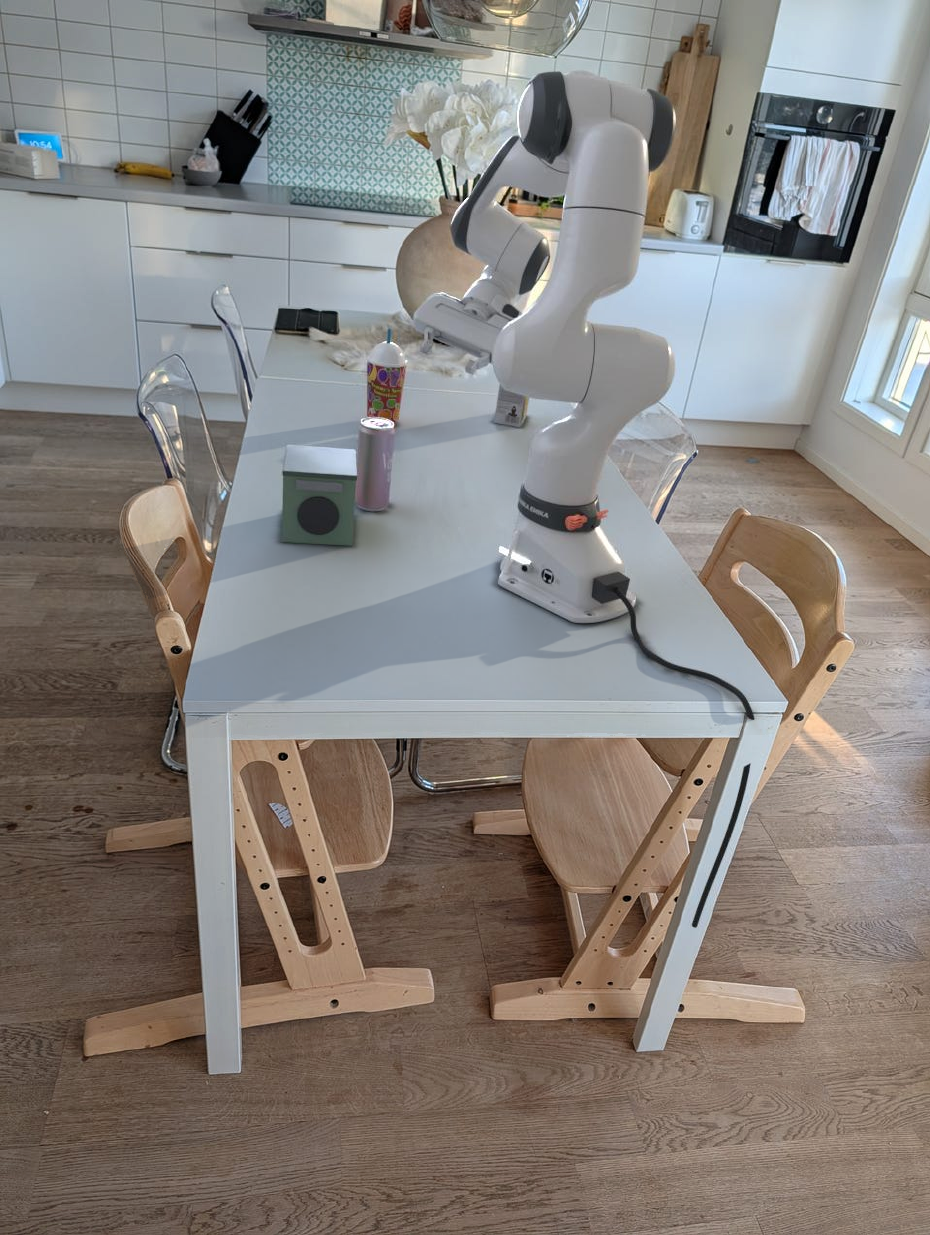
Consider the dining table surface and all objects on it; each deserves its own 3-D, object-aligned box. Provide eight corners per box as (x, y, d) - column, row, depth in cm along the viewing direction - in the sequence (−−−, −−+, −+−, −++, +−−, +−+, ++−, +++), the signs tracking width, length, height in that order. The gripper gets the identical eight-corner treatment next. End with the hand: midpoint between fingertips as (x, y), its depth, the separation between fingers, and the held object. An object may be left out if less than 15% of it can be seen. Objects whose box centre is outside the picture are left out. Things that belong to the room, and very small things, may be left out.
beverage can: (367, 495, 163) (373, 414, 155) (395, 505, 160) (402, 423, 153) (347, 505, 158) (352, 421, 151) (375, 515, 156) (381, 431, 148)
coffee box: (500, 411, 213) (510, 342, 205) (526, 416, 213) (537, 347, 205) (493, 423, 206) (503, 351, 198) (521, 428, 205) (532, 356, 197)
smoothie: (366, 429, 192) (373, 333, 182) (359, 416, 199) (365, 322, 189) (405, 430, 195) (414, 335, 185) (396, 416, 201) (404, 324, 191)
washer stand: (352, 547, 145) (357, 477, 138) (280, 543, 143) (282, 472, 137) (352, 516, 154) (356, 449, 148) (284, 512, 153) (286, 444, 147)
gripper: (434, 277, 169) (395, 326, 164) (532, 318, 165) (495, 370, 159) (435, 302, 174) (397, 351, 169) (529, 343, 170) (494, 394, 165)
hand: (445, 361), depth 164 cm, fingers open, 8 cm apart
